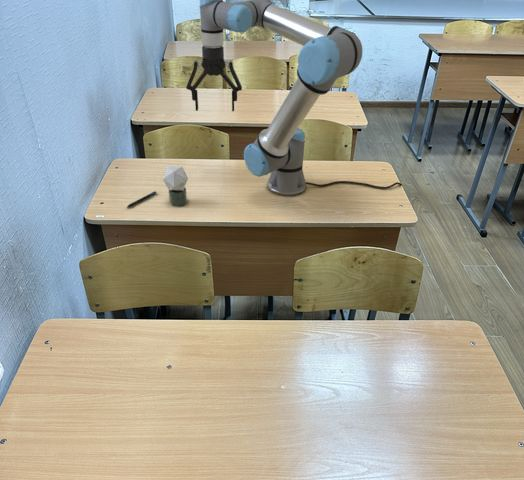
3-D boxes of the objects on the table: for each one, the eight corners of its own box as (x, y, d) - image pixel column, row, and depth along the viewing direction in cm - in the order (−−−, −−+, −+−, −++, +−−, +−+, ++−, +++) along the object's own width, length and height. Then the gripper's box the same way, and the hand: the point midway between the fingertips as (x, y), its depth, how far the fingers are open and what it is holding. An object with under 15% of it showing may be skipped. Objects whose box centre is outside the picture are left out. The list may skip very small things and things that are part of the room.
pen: (125, 208, 188) (125, 205, 187) (154, 193, 197) (154, 190, 197) (127, 209, 187) (127, 206, 187) (157, 194, 197) (156, 191, 196)
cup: (187, 198, 195) (186, 185, 191) (186, 206, 190) (185, 192, 186) (171, 198, 195) (169, 185, 191) (169, 206, 190) (167, 192, 186)
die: (178, 198, 184) (191, 174, 181) (156, 184, 182) (169, 159, 179) (180, 196, 192) (194, 172, 189) (160, 183, 190) (172, 159, 187)
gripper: (248, 43, 180) (248, 107, 194) (177, 42, 179) (182, 106, 193) (248, 48, 174) (248, 113, 189) (175, 47, 173) (181, 112, 188)
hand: (215, 110), depth 191 cm, fingers open, 13 cm apart
